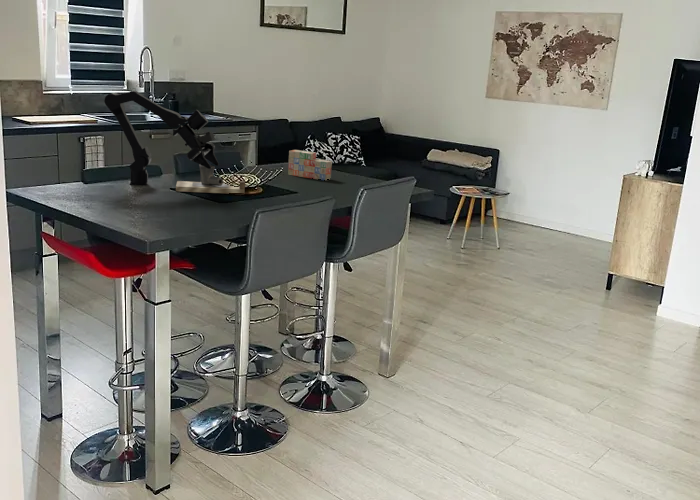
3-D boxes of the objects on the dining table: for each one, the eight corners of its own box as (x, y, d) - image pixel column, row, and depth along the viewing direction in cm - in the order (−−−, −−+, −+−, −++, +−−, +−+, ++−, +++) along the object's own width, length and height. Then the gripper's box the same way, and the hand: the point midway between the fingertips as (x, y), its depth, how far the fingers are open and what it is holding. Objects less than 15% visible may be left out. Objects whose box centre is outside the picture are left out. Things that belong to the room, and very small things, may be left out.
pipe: (215, 188, 288) (216, 169, 286) (194, 183, 295) (195, 164, 293) (226, 186, 292) (226, 168, 290) (205, 181, 300) (206, 163, 297)
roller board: (175, 191, 286) (176, 179, 284) (177, 185, 297) (177, 174, 296) (244, 194, 292) (244, 182, 290) (243, 188, 303) (243, 177, 301)
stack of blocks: (330, 179, 344) (332, 154, 341) (325, 181, 339) (326, 156, 335) (293, 173, 353) (295, 149, 350) (287, 174, 347) (288, 150, 344)
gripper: (194, 127, 279) (219, 157, 280) (211, 123, 297) (235, 152, 298) (175, 144, 282) (200, 174, 283) (193, 140, 300) (217, 168, 301)
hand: (214, 166), depth 291 cm, fingers open, 9 cm apart
